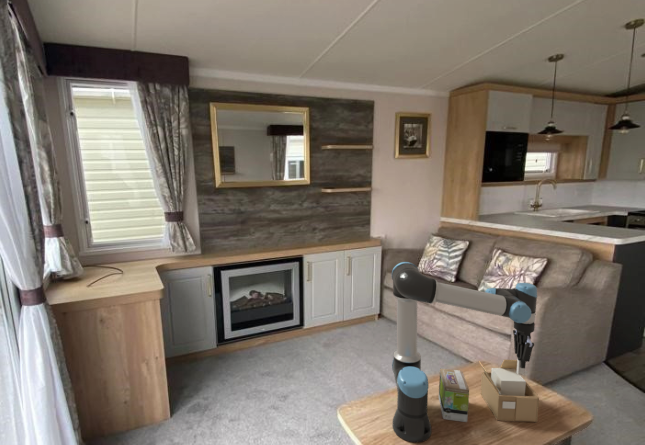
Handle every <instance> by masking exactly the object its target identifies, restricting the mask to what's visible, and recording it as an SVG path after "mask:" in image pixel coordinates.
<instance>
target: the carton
mask: <svg viewBox="0 0 645 445" xmlns="http://www.w3.org/2000/svg"><path fill="white" fill-rule="evenodd" d="M487 372H488V374H489V376H490V377H491V379H492V381H493V382H494V384H495V386H496V388H497V389H498V391H499V392H498V391H497V390H496V389H495V387H494V386H493V384H492V383H491V381H490V380H489V378H488V377H487V375H486V373H485V372H484V371H481V380H480V381H481V382H480V396H481V397H482V398H483V400H484V402H485V403H486V405H487V406H488V408H489V410H490V411H491V413H492V415H493V416H494V417H495V420H497V421H498V422H499V421H501V422H519V423H520V422H522V423H525V422H526V423H538V419H539V418H538V417H539V416H538V415H539V404H540V403H539V402H540V397H539V396H538V393H536V391H535V390H534V389H533V388H532V387H531V385H530V384H528V382H527V381H526V380H525V379H524V378H523V377H522V375H521V374H517V371H516V370H515V369H510V368H500V367H491V371H487Z"/></svg>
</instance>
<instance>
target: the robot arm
mask: <svg viewBox="0 0 645 445" xmlns="http://www.w3.org/2000/svg"><path fill="white" fill-rule="evenodd" d="M391 279H392V295H393V296H394V297H395V299H396V350H395V351H394V352H393V359H392V364H391V367H392V368H391V369H392V372H393V376H394V381H395V386H396V389H397V391H396V392H397V398H396V399H397V403H396V404H397V408H396V410H395V413H394V415H393V416H392V417H393V418H392V429H393V432H394V433H395V434H396V435H397V437H399V438H401V439H402V440H404V441H406V442H409V443H423V442H425V441H427V440H428V439H430V437H431V434H432V425H431V421H430V418H429V414H428V404H429V403H428V398H429V397H428V396H429V385H430V384H429V378H428V376H427V374H426V372H425V371H423V370H422V367H421V366H422V355H421V354H420V352H418V302H421V303H426V304H434V303H438V304H443V305H446V306H447V305H449V306H452V307H457V308H462V309H466V310H471V311H477V312H481V313H486V314H490V315H491V314H492V315H493V316H494V315H495V316H500V317H504V318H508V319H510V320H512V321H513V330H512V334H513V344H514V345H513V347H514V348H513V349H514V354H515V355H516V360H517V374H520V376H522V375H523V376H524V375H525V374H526V362H527V363H528V362H530V360H531V358H532V357H531V356H532V352H533V348H534V346H535V342H532V341H531V339H532V336H531V334H532V333H533V332H535V328H536V326H535V325H536V323H535V322H536V315H537V313H536V310H537V299H538V288H537V286H536V285H534V284H532V283H529V282H517V283H516V285H515V288H504V287H503V288H502V287H501V288H500V287H489V288H487V289H485V291H480V290H476V289H471V288H467V287H463V286H458V285H453V284H447V283H444V282H439V281H438V280H437V279H436V278H432V277H428V276H426V275H425V274H423V273H421V271H420V270H419V268H418V266H417V265H416V264H414V263H412V262H409V261H402V262H399V263H397V264H396V265H394V267H393V268H392V271H391ZM525 376H526V375H525Z"/></svg>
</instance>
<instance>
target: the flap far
mask: <svg viewBox="0 0 645 445" xmlns="http://www.w3.org/2000/svg"><path fill="white" fill-rule="evenodd" d="M499 368H510V369H515V370H516V371H517V359H503V361H502V362H501V365H500V367H499Z"/></svg>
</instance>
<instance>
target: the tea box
mask: <svg viewBox="0 0 645 445" xmlns="http://www.w3.org/2000/svg"><path fill="white" fill-rule="evenodd" d="M438 382H439V384H438V385H439V386H438V388H439V389H438V401H439V405H440V410H441V416H442V419H443V420H449V421H456V422H464V423H467V422H468V416H469V398H470V388H469V386H468V382H467V380H466V377H465V373H464V372H463V370H459V369H458V370H457V369H447V368H440V369H439V381H438Z"/></svg>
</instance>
